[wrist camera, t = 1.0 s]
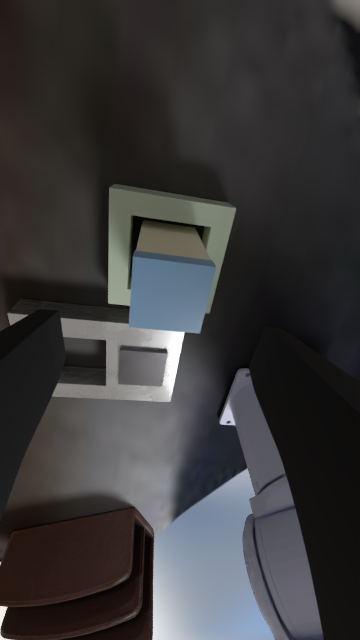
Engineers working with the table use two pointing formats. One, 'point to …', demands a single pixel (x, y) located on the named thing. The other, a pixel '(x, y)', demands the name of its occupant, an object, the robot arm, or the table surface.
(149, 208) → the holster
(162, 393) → the panel
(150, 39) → the table surface
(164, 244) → the plug
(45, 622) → the letter holder
